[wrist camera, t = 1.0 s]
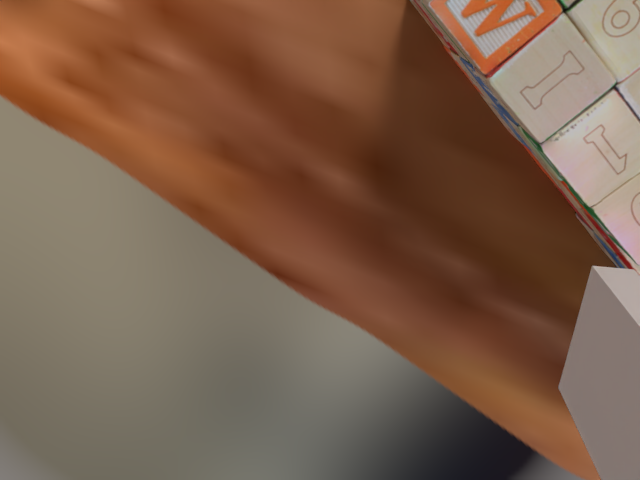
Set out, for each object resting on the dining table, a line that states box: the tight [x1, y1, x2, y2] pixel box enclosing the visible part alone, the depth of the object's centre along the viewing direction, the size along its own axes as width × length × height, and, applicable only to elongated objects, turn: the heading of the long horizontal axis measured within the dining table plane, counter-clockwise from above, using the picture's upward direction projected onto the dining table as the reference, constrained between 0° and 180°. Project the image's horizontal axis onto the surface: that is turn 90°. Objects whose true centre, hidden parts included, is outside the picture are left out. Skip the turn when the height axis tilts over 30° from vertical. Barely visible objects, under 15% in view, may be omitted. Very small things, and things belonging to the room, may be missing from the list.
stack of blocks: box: [410, 0, 640, 275], centre depth 27 cm, size 21×6×12 cm, turn 42°
